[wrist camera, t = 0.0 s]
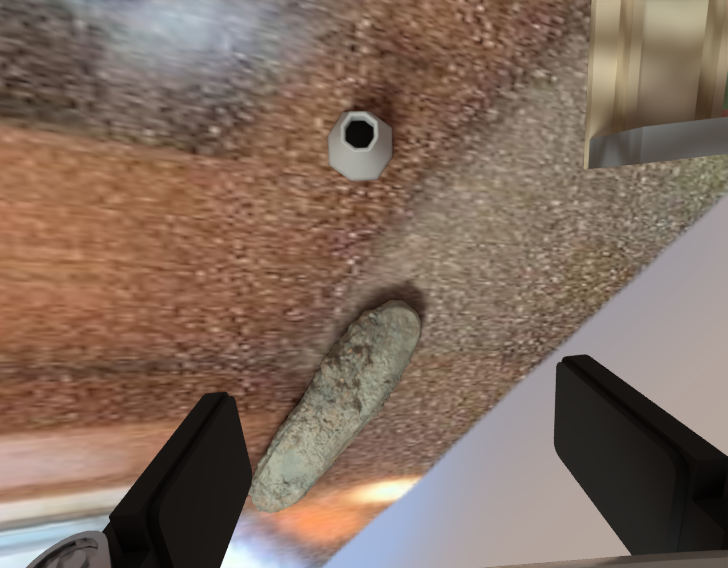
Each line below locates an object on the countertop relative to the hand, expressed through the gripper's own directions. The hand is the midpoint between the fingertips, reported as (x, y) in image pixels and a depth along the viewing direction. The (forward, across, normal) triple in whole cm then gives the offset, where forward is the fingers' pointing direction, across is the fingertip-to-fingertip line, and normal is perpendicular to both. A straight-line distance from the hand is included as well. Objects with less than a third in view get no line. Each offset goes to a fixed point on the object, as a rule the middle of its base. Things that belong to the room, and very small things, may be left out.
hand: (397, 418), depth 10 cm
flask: (+32, 0, -11) cm, 33 cm away
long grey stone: (+32, +8, +20) cm, 38 cm away
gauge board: (+31, -31, -17) cm, 47 cm away
